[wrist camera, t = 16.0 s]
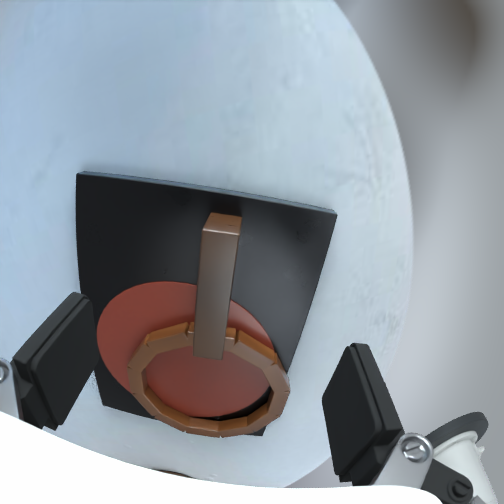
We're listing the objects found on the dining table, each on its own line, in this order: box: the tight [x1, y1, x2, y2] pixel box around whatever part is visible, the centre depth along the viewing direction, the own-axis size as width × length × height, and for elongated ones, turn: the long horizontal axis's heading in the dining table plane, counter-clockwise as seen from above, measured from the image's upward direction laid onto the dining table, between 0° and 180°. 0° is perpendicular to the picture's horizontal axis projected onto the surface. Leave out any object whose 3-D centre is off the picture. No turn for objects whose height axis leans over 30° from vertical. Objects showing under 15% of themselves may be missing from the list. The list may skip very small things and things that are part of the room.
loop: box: [127, 213, 290, 438], centre depth 19 cm, size 20×12×3 cm, turn 171°
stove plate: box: [76, 171, 337, 436], centre depth 21 cm, size 16×22×1 cm
